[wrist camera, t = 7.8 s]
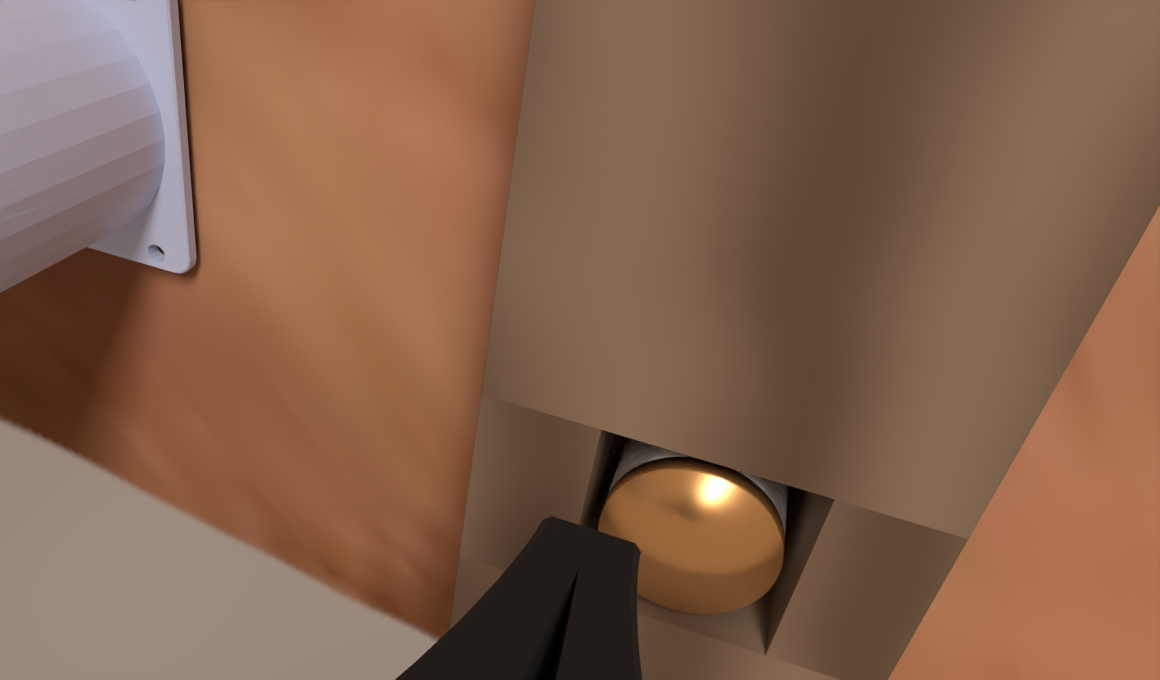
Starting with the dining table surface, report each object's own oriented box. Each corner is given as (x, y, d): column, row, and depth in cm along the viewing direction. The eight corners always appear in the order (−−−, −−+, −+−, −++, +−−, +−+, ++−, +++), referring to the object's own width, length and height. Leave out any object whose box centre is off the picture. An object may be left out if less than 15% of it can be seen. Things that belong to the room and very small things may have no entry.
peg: (623, 463, 24) (583, 580, 20) (655, 342, 21) (617, 448, 18) (766, 507, 23) (753, 635, 19) (812, 387, 21) (808, 505, 17)
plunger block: (511, 501, 26) (449, 628, 22) (744, -839, 12) (699, -1197, 8) (839, 604, 25) (841, 760, 20) (1508, -759, 11) (1927, -1136, 7)
